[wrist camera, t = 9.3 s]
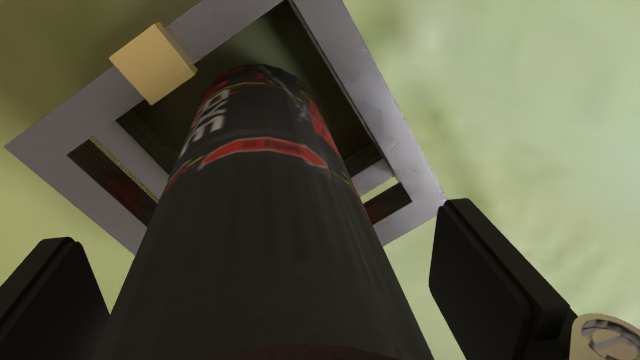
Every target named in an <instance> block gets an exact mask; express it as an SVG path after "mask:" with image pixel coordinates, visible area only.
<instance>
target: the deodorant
mask: <svg viewBox="0 0 640 360" xmlns="http://www.w3.org/2000/svg"><path fill="white" fill-rule="evenodd" d="M91 360H434V358H433V356H432V354H431V351H430V349H429V347H428V345H427V343H426V341H425V338H424V336H423V334H422V332H421V330H420V328H419V325H418V323H417V321H416V319H415V317H414V314H413V312H412V310H411V308H410V306H409V304H408V301H407V299H406V297H405V295H404V293H403V291H402V288H401V286H400V284H399V282H398V280H397V278H396V275H395V273H394V271H393V269H392V267H391V264H390V262H389V260H388V258H387V256H386V254H385V251H384V249H383V247H382V245H381V243H380V241H379V238H378V236H377V234H376V232H375V230H374V227H373V225H372V223H371V221H370V219H369V217H368V214H367V212H366V210H365V208H364V206H363V204H362V201H361V199H360V197H359V195H358V193H357V190H356V188H355V186H354V184H353V182H352V180H351V177H350V175H349V173H348V171H347V169H346V167H345V164H344V162H343V160H342V158H341V156H340V153H339V151H338V149H337V147H336V145H335V143H334V140H333V138H332V136H331V134H330V132H329V130H328V127H327V125H326V123H325V121H324V119H323V116H322V114H321V112H320V110H319V108H318V106H317V103H316V101H315V99H314V98H313V96H312V95H311V93H310V91H309V90H308V88H307V87H306V86H305V85H304V84H303V83H302V82H301V81H300V80H298V79H297V78H296V77H295V76H294V75H292V74H290V73H288V72H286V71H284V70H282V69H280V68H276V67H271V66H267V65H246V66H243V67H240V68H236V69H233V70H230V71H228V72H227V73H225V74H224V75H222V76H221V77H219V78H218V79H216V80H215V81H214V83H213V84H212V85H211V86H210V87H209V89H208V90H207V91H206V92H205V94H204V96H203V99H202V101H201V103H200V106H199V108H198V111H197V113H196V115H195V118H194V120H193V122H192V125H191V127H190V129H189V132H188V134H187V136H186V139H185V141H184V143H183V146H182V148H181V150H180V153H179V155H178V157H177V160H176V162H175V164H174V167H173V169H172V171H171V174H170V176H169V178H168V181H167V183H166V185H165V188H164V190H163V192H162V195H161V197H160V199H159V202H158V204H157V207H156V209H155V211H154V214H153V216H152V218H151V221H150V223H149V225H148V228H147V230H146V232H145V235H144V237H143V239H142V242H141V244H140V246H139V249H138V251H137V253H136V256H135V258H134V260H133V263H132V265H131V267H130V270H129V272H128V274H127V277H126V279H125V281H124V284H123V286H122V288H121V291H120V293H119V295H118V298H117V300H116V303H115V305H114V307H113V310H112V312H111V314H110V317H109V319H108V321H107V324H106V326H105V328H104V331H103V333H102V335H101V338H100V340H99V342H98V345H97V347H96V349H95V352H94V354H93V356H92V359H91Z"/></svg>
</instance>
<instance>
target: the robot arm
mask: <svg viewBox="0 0 640 360" xmlns="http://www.w3.org/2000/svg"><path fill="white" fill-rule="evenodd" d="M429 288H430V292H431V294H432V296H433V298H434V300H435V302H436V304H437V305H438V307H439V309H440V311H441V313H442V315H443V317H444V319H445V320H446V322H447V324H448V326H449V328H450V330H451V332H452V333H453V335H454V337H455V339H456V341H457V343H458V345H459V347H460V348H461V350H462V352H463V354H464V356H465V358H466V360H640V330H639V329H638V328H636V327H634V326H633V325H631V324H629V323H627V322H625V321H623V320H620V319H618V318H615V317H612V316H608V315H604V314H593V313H589V314H585V315H581V316H579V317H578V316H577V315H576V314H575V313H574V312H573V311H572V309H571V308H570V305H569V304H568V303H567V302H566V301H565V300H564V299H563V298H562V297H561V296H560V294H559V293H558V292H557V291H556V290H555V289H554V288H553V287H552V286H551V285H550V284H549V283H548V282H547V281H546V280H545V279H544V278H543V277H542V275H541V274H540V273H539V272H538V271H537V270H536V269H535V268H534V267H533V266H532V265H531V264H530V263H529V262H528V261H527V260H526V259H525V258H524V256H523V255H522V254H521V253H520V252H519V251H518V250H517V249H516V248H515V247H514V246H513V245H512V244H511V243H510V242H509V241H508V240H507V238H506V237H505V236H504V235H503V234H502V233H501V232H500V231H499V230H498V229H497V228H496V227H495V226H494V225H493V224H492V223H491V222H490V221H489V219H488V218H487V217H486V216H485V215H484V214H483V213H482V212H481V211H480V210H479V209H478V208H477V207H476V206H475V205H474V204H473V203H472V202H471V200H469V199H468V198H462V199H452V200H446V201H445V203H444V205H443V206H440V207H439V208H438V212H437V220H436V227H435V235H434V243H433V251H432V259H431V267H430V274H429ZM109 317H110V314H109V312H108V309H107V307H106V304H105V301H104V299H103V296H102V294H101V291H100V289H99V286H98V284H97V281H96V279H95V276H94V274H93V271H92V269H91V266H90V264H89V261H88V259H87V256H86V254H85V251H84V249H83V246H82V245H81V243H80V242H75V241H74V240H73V239H72V238H71V237H61V238H50V239H44V240H42V241H40V242H39V243H38V244H37V246H36V247H35V248H34V249H33V250H32V251H31V252H30V254H29V255H28V256H27V257H26V258H25V259H24V260H23V262H22V263H21V264H20V265H19V266H18V267H17V268H16V270H15V271H14V272H13V273H12V274H11V275H10V276H9V278H8V279H7V280H6V281H5V282H4V283H3V284H2V286H1V287H0V360H91V359H92V356H93V354H94V352H95V349H96V347H97V345H98V342H99V340H100V338H101V335H102V333H103V331H104V328H105V326H106V324H107V321H108V319H109Z"/></svg>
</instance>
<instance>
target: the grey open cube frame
mask: <svg viewBox="0 0 640 360" xmlns="http://www.w3.org/2000/svg"><path fill="white" fill-rule="evenodd" d="M282 1H283V0H201V1H200V2H199V3H197V4H196V5H195V6H193V7H192V8H191V9H189V10H188V11H187V12H185V13H184V14H183V15H181V16H180V17H178V18H177V19H176V20H174V21H173V22H172V23H170V24H169V25H168V26H166V27H165V28H164V27H163V25H162V24H161V23H160V22H157V23H155V24H153V25H152V26H151V27H149V28H148V29H147V30H145V31H144V32H143V33H141V34H140V35H139V36H137V37H136V38H134V39H133V40H132V41H130V42H129V43H128V44H126V45H125V46H124V47H122V48H121V49H120V50H118V51H117V52H116V53H114V54H113V55H112V56H110V57H109V60H110V61H111V62H112V63H113V64H114V65H113V66H112V67H111V68H109V69H108V70H107V71H105V72H104V73H103V74H101V75H100V76H99V77H97V78H96V79H95V80H93V81H92V82H90V83H89V84H88V85H86V86H85V87H84V88H82V89H81V90H80V91H78V92H77V93H76V94H74V95H73V96H72V97H70V98H69V99H67V100H66V101H65V102H63V103H62V104H61V105H59V106H58V107H57V108H55V109H54V110H53V111H51V112H50V113H49V114H47V115H46V116H44V117H43V118H42V119H40V120H39V121H38V122H36V123H35V124H34V125H32V126H31V127H30V128H28V129H27V130H26V131H24V132H23V133H21V134H20V135H19V136H17V137H16V138H15V139H13V140H12V141H11V142H9V143H8V144H7V145H5V146H4V147H5V148H6V149H7V150H8V151H10V152H11V153H12V154H13V155H14V156H16V157H17V158H18V159H19V160H20V161H22V162H23V163H24V164H25V165H26V166H28V167H29V168H30V169H31V170H33V171H34V172H35V173H36V174H37V175H39V176H40V177H41V178H42V179H43V180H45V181H46V182H47V183H48V184H49V185H51V186H52V187H53V188H54V189H55V190H57V191H58V192H59V193H60V194H62V195H63V196H64V197H65V198H66V199H68V200H69V201H70V202H71V203H72V204H74V205H75V206H76V207H77V208H78V209H80V210H81V211H82V212H83V213H84V214H86V215H87V216H88V217H89V218H90V219H92V220H93V221H94V222H95V223H97V224H98V225H99V226H100V227H101V228H103V229H104V230H105V231H106V232H107V233H109V234H110V235H111V236H112V237H113V238H115V239H116V240H117V241H118V242H119V243H121V244H122V245H123V246H124V247H126V248H127V249H128V250H129V251H130V252H132V253H133V254H134V255H135V256H136V253H137V251H138V249H139V246H140V244H141V242H142V239H143V237H144V235H145V232H146V230H147V228H148V225H149V223H150V221H151V218H152V216H153V214H154V211H155V209H156V207H157V203H156V202H155V201H154V200H153V199H152V198H151V197H150V196H149V195H147V194H146V193H145V192H144V191H143V190H142V189H141V188H140V187H139V186H138V185H137V184H136V183H135V182H134V181H133V180H132V179H131V178H130V177H128V176H127V175H126V174H125V173H124V172H123V171H122V170H121V169H120V168H119V167H118V166H117V165H116V164H115V163H114V162H113V161H112V160H111V159H109V158H108V157H107V156H106V155H105V154H104V153H103V152H102V151H101V150H100V149H99V148H98V147H97V146H96V145H95V144H94V143H93V142H92V141H90V140H89V138H91V137H92V136H93V137H94V138H95V139H96V140H97V141H99V142H100V143H101V144H102V145H103V146H104V147H105V148H106V149H107V150H108V151H109V152H110V153H111V154H112V155H113V156H114V157H115V158H116V159H117V160H118V161H119V162H120V163H122V164H123V165H124V166H125V167H126V168H127V169H128V170H129V171H130V172H131V173H132V174H133V175H134V176H135V177H136V178H137V179H138V180H139V181H140V182H141V183H142V184H143V185H144V186H146V187H147V188H148V189H149V190H150V191H151V192H152V193H153V194H154V195H155V196H156V197H157V198H158V199H160V197H161V195H162V192H163V190H164V188H165V185H166V183H167V181H168V178H169V176H170V174H171V171H172V169H173V167H174V164H175V162H176V160H177V156H176V155H175V154H174V153H173V152H172V151H171V149H170V148H169V147H168V146H167V145H166V144H165V143H164V142H163V141H162V140H161V139H160V138H159V137H158V136H157V135H156V134H155V132H154V131H153V130H152V129H151V128H150V127H149V126H148V125H147V124H146V123H145V122H144V121H143V120H142V119H141V118H140V117H139V115H138V114H137V113H136V112H135V111H134V110H133V109H132V108H133V107H134V106H136V105H137V104H138V103H140V102H141V101H143V100H144V99H146V100H147V101H148V103H149V104H150V105H153V104H154V103H156V102H157V101H159V100H160V99H161V98H163V97H164V96H166V95H167V94H168V93H170V92H171V91H173V90H174V89H176V88H177V87H178V86H180V85H181V84H183V83H184V82H185V81H187V80H188V79H190V78H191V77H193V76H194V75H195V74H196V72H197V71H198V70H197V68H196V67H195V66H194V65H193V64H195V63H196V62H197V61H199V60H200V59H202V58H203V57H204V56H206V55H207V54H209V53H210V52H211V51H213V50H214V49H216V48H217V47H219V46H220V45H221V44H223V43H224V42H226V41H227V40H228V39H230V38H231V37H233V36H234V35H235V34H237V33H238V32H240V31H241V30H242V29H244V28H245V27H247V26H248V25H249V24H251V23H252V22H254V21H255V20H256V19H258V18H259V17H261V16H262V15H263V14H265V13H266V12H268V11H269V10H271V9H272V8H273V7H275V6H276V5H278V4H279V3H280V2H282ZM287 2H288V3H289V5H290V7H291V8H292V10H293V12H294V13H295V15H296V17H297V18H298V20H299V22H300V23H301V25H302V26H303V28H304V30H305V31H306V33H307V35H308V36H309V38H310V40H311V41H312V43H313V45H314V46H315V48H316V50H317V51H318V53H319V55H320V56H321V58H322V60H323V61H324V63H325V65H326V66H327V68H328V70H329V71H330V73H331V75H332V76H333V78H334V80H335V81H336V83H337V85H338V86H339V88H340V90H341V91H342V93H343V95H344V96H345V98H346V100H347V101H348V103H349V104H350V106H351V108H352V109H353V111H354V113H355V114H356V116H357V118H358V119H359V121H360V123H361V124H362V126H363V128H364V129H365V131H366V133H367V134H368V136H369V138H370V139H371V141H372V143H370V144H369V145H367V146H366V147H364V148H362V149H361V150H359V151H358V152H356V153H354V154H353V155H351V156H350V157H348V158H346V159H345V160H343V162H344V164H345V167H346V169H347V171H348V173H349V175H350V177H351V180H352V182H353V184H354V186H355V188H356V190H357V193H358V195H359V197H361V196H362V195H364V194H366V193H367V192H369V191H371V190H372V189H374V188H376V187H377V186H379V185H381V184H382V183H384V182H386V181H387V180H389V179H390V178H392V177H395V179H396V180H397V181H398V183H397V184H396V185H394V186H392V187H391V188H389V189H387V190H386V191H384V192H382V193H381V194H379V195H377V196H375V197H374V198H372V199H370V200H369V201H367V202H365V203H364V204H363V206H364V208H365V210H366V212H367V214H368V217H369V219H370V221H371V223H372V225H373V227H374V230H375V232H376V234H377V236H378V238H379V241H380V243H381V245H382V247H383V246H385V245H386V244H388V243H390V242H391V241H393V240H395V239H397V238H398V237H400V236H402V235H404V234H405V233H407V232H409V231H411V230H412V229H414V228H416V227H418V226H419V225H421V224H423V223H425V222H426V221H428V220H430V219H432V218H433V217H435V216H437V212H438V208H439V207H440V206H443V205H444V203H445V201H446V200H448V199H447V197H446V195H445V194H444V192H443V190H442V188H441V186H440V184H439V182H438V180H437V178H436V177H435V175H434V173H433V171H432V169H431V167H430V165H429V163H428V161H427V160H426V158H425V156H424V154H423V152H422V150H421V148H420V146H419V144H418V143H417V141H416V139H415V137H414V135H413V133H412V131H411V129H410V127H409V126H408V124H407V122H406V120H405V118H404V116H403V114H402V112H401V110H400V109H399V107H398V105H397V103H396V101H395V99H394V97H393V95H392V93H391V92H390V90H389V88H388V86H387V84H386V82H385V80H384V78H383V76H382V75H381V73H380V71H379V69H378V67H377V65H376V63H375V61H374V59H373V58H372V56H371V54H370V52H369V50H368V48H367V46H366V44H365V42H364V41H363V39H362V37H361V35H360V33H359V31H358V29H357V27H356V25H355V24H354V22H353V20H352V18H351V16H350V14H349V12H348V10H347V8H346V7H345V5H344V3H343V1H342V0H287Z"/></svg>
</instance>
